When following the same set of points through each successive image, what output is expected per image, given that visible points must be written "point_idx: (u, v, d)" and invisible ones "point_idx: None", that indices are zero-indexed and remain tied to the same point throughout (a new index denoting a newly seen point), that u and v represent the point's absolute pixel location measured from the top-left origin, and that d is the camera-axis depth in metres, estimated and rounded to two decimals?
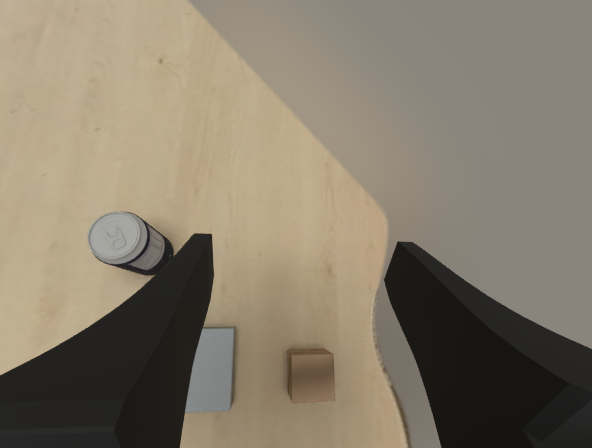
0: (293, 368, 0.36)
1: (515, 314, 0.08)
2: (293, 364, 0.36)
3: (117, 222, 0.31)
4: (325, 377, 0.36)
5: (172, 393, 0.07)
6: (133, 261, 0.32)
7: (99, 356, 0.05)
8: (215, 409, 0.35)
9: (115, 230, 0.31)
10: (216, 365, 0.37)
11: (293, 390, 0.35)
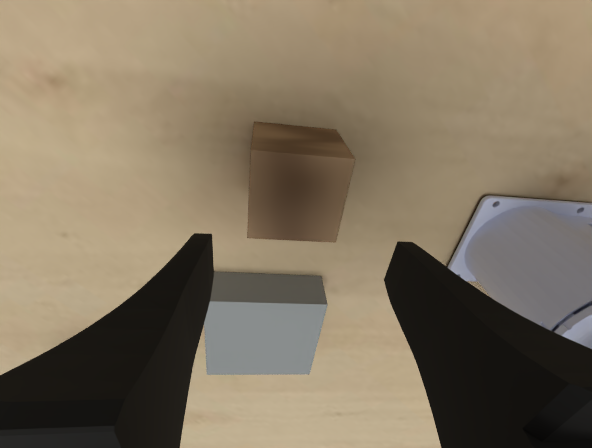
0: (273, 236, 0.17)
1: (515, 314, 0.08)
2: (265, 236, 0.17)
3: None
4: (301, 175, 0.15)
5: (172, 393, 0.07)
6: None
7: (98, 357, 0.05)
8: (321, 319, 0.24)
9: None
10: (260, 319, 0.23)
11: (314, 239, 0.17)
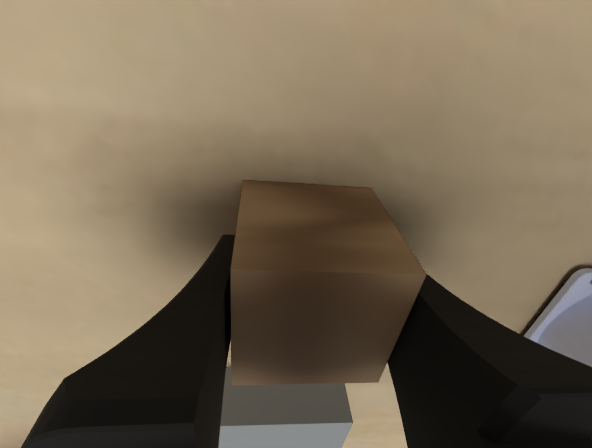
0: (275, 381, 0.10)
1: (481, 313, 0.08)
2: (262, 381, 0.10)
3: None
4: (325, 301, 0.08)
5: (217, 392, 0.07)
6: None
7: (160, 356, 0.06)
8: (342, 437, 0.17)
9: None
10: (258, 441, 0.16)
11: (343, 380, 0.10)
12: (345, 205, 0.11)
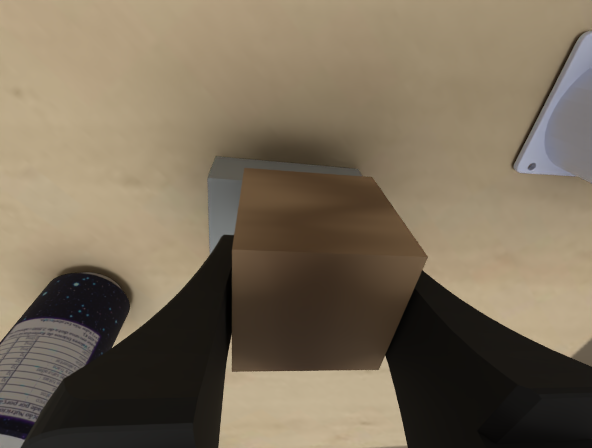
0: (275, 368, 0.10)
1: (480, 313, 0.08)
2: (262, 368, 0.10)
3: None
4: (327, 284, 0.08)
5: (217, 392, 0.07)
6: None
7: (159, 355, 0.06)
8: None
9: None
10: None
11: (344, 367, 0.10)
12: (346, 192, 0.11)
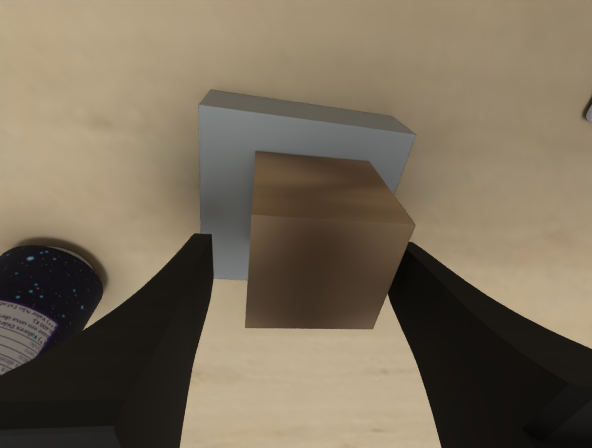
0: (283, 325, 0.12)
1: (515, 313, 0.08)
2: (272, 325, 0.12)
3: None
4: (330, 247, 0.10)
5: (172, 393, 0.07)
6: None
7: (98, 357, 0.05)
8: (398, 169, 0.14)
9: None
10: None
11: (342, 326, 0.12)
12: (346, 173, 0.12)
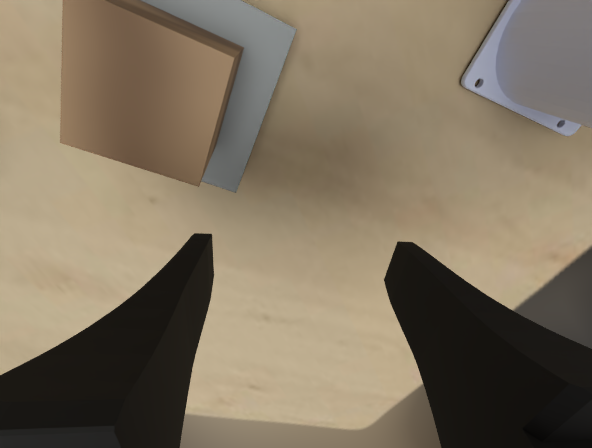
0: (103, 152, 0.11)
1: (515, 314, 0.08)
2: (90, 147, 0.11)
3: None
4: (149, 58, 0.10)
5: (172, 393, 0.07)
6: None
7: (99, 356, 0.05)
8: (279, 64, 0.15)
9: None
10: None
11: (167, 173, 0.12)
12: (208, 35, 0.13)
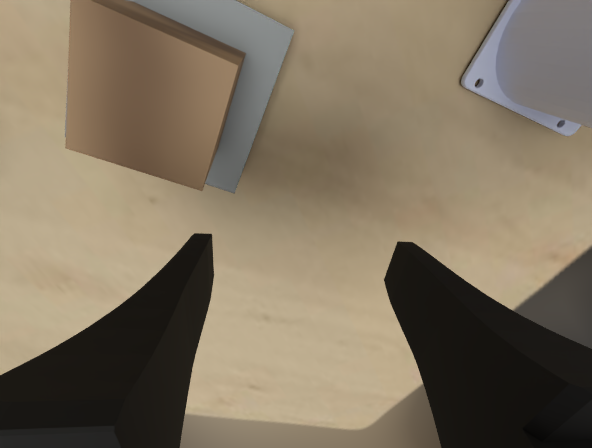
0: (107, 157, 0.12)
1: (515, 314, 0.08)
2: (95, 153, 0.11)
3: None
4: (154, 65, 0.10)
5: (172, 393, 0.07)
6: None
7: (99, 356, 0.05)
8: (276, 65, 0.15)
9: None
10: None
11: (171, 177, 0.12)
12: (211, 41, 0.13)
